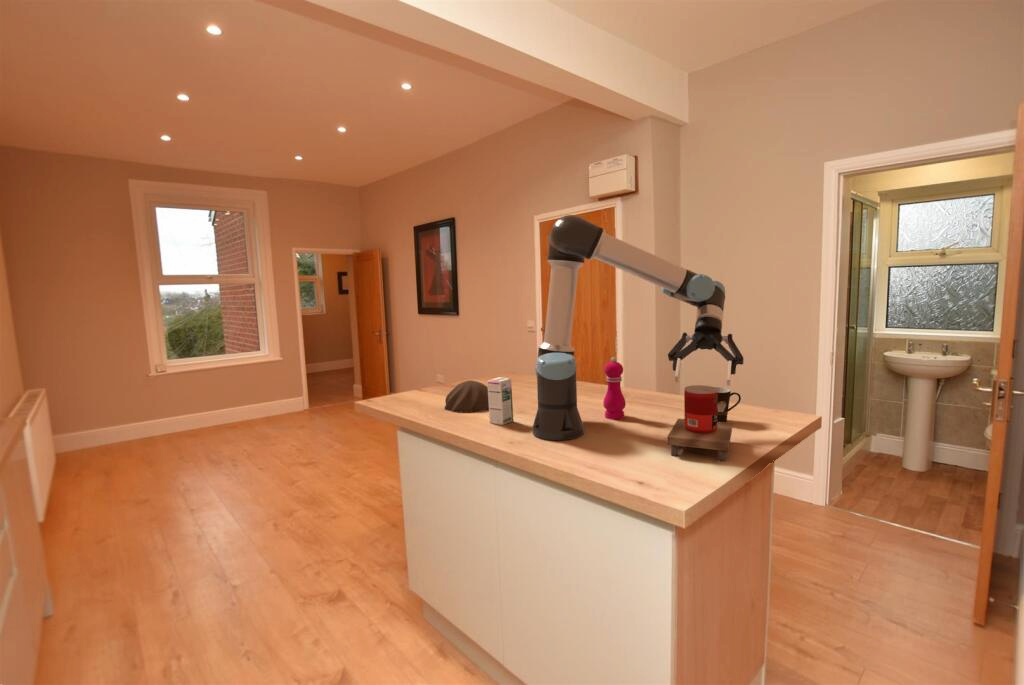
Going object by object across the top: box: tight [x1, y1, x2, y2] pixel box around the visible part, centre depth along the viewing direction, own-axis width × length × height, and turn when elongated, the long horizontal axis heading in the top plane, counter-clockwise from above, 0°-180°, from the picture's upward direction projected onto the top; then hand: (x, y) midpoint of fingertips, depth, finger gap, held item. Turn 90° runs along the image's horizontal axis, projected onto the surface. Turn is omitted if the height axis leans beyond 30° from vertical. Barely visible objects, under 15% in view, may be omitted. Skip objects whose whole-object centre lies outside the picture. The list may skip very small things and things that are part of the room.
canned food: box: [683, 384, 718, 433], centre depth 126 cm, size 8×8×11 cm
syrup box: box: [486, 376, 514, 426], centre depth 158 cm, size 6×6×14 cm
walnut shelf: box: [666, 418, 733, 462], centre depth 126 cm, size 14×18×5 cm
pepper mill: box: [602, 356, 627, 420], centre depth 159 cm, size 7×7×20 cm
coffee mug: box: [714, 386, 742, 423], centre depth 150 cm, size 12×9×10 cm
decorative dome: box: [444, 379, 489, 413], centre depth 183 cm, size 19×20×10 cm
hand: (701, 381), depth 135 cm, fingers open, 13 cm apart
